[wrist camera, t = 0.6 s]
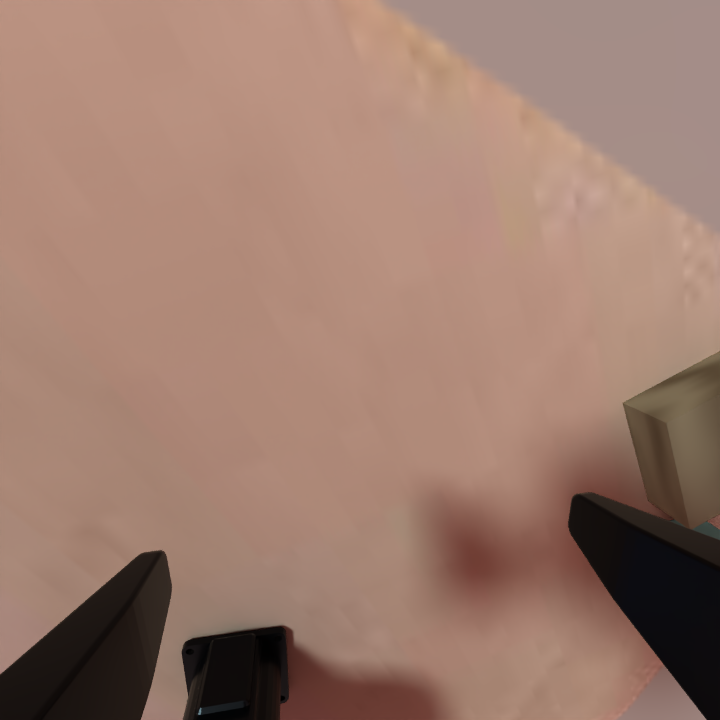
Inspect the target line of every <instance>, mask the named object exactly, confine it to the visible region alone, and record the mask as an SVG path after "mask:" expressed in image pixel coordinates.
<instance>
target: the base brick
mask: <svg viewBox="0 0 720 720" xmlns="http://www.w3.org/2000/svg"><path fill="white" fill-rule="evenodd" d="M623 406H624V410H625V414H626V418H627V422H628V425H629V429H630V433H631V437H632V441H633V445H634V448H635V452H636V456H637V460H638V464H639V467H640V471H641V475H642V479H643V483H644V487H645V490H646V494H647V498H648V501H649V502H651V503H652V504H653V505H655V506H656V507H658V508H659V509H661V510H662V511H663V512H665V513H666V514H668V515H669V516H671V517H672V518H673V519H675V520H676V521H678V522H679V523H681V524H682V525H683V526H685V527H686V528H689V529H693V528H695V527H697V526H699V525H701V524H703V523H704V522H706V521H708V520H710V519H712V518H714V517H715V516H717V515H719V514H720V351H719V352H717V353H716V354H714V355H712V356H710V357H708V358H706V359H704V360H702V361H701V362H699V363H697V364H695V365H693V366H691V367H689V368H687V369H685V370H684V371H682V372H680V373H678V374H676V375H674V376H672V377H670V378H669V379H667V380H665V381H663V382H661V383H659V384H657V385H655V386H654V387H652V388H650V389H648V390H646V391H644V392H642V393H640V394H639V395H637V396H635V397H633V398H631V399H629V400H627V401H625V402H624V403H623Z"/></svg>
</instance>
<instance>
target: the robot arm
mask: <svg viewBox="0 0 720 720" xmlns="http://www.w3.org/2000/svg"><path fill="white" fill-rule="evenodd" d="M568 527H569V531H570V533H571V535H572V537H573V539H574V540H575V542H576V543H577V545H578V546H579V548H580V549H581V551H582V552H583V554H584V555H585V557H586V558H587V560H588V562H589V563H590V565H591V566H592V568H593V569H594V571H595V572H596V574H597V575H598V577H599V578H600V580H601V581H602V583H603V584H604V586H605V587H606V589H607V590H608V592H609V593H610V595H611V596H612V598H613V599H614V600H615V602H616V603H617V605H618V606H619V607H620V609H621V610H622V611H623V612H624V614H625V615H626V616H627V618H628V619H629V620H630V621H631V623H632V624H633V625H634V627H635V628H636V629H637V631H638V632H639V633H640V634H641V636H642V637H643V638H644V640H645V641H646V642H647V643H648V645H649V646H650V647H651V649H652V650H653V651H654V652H655V654H656V655H657V656H658V658H659V659H660V660H661V661H662V663H663V664H664V665H665V667H666V668H667V669H668V671H669V672H670V673H671V674H672V676H673V677H674V678H675V680H676V681H677V682H678V683H679V685H680V686H681V687H682V689H683V690H684V691H685V692H686V694H687V695H688V696H689V698H690V699H691V700H692V701H693V703H694V704H695V705H696V706H697V708H698V709H699V710H700V712H701V713H702V714H703V716H704V717H705V718H706V719H707V720H720V540H718V539H716V538H713V537H710V536H708V535H705V534H702V533H700V532H697V531H694V530H692V529H689V528H686V527H684V526H681V525H678V524H676V523H673V522H670V521H668V520H665V519H662V518H660V517H657V516H654V515H651V514H649V513H646V512H643V511H641V510H638V509H635V508H633V507H630V506H627V505H625V504H622V503H619V502H617V501H614V500H611V499H609V498H606V497H603V496H601V495H598V494H595V493H592V492H587V493H579V494H575V495H574V496H573V497H572V500H571V507H570V514H569V521H568ZM171 592H172V583H171V578H170V572H169V567H168V561H167V556H166V554H165V552H164V551H162V550H158V551H151V552H144V553H141V554H140V555H138V556H137V557H136V558H135V559H134V560H132V561H131V562H130V563H129V564H128V565H127V566H125V567H124V568H123V569H122V570H121V571H120V572H118V573H117V574H116V575H115V576H114V577H113V578H111V579H110V580H109V581H108V582H107V583H106V584H105V585H103V586H102V587H101V588H100V589H99V590H98V591H96V592H95V593H94V594H93V595H92V596H91V597H89V598H88V599H87V600H86V601H85V602H84V603H83V604H81V605H80V606H79V607H78V608H77V609H76V610H74V611H73V612H72V613H71V614H70V615H69V616H67V617H66V618H65V619H64V620H63V621H62V622H60V623H59V624H58V625H57V626H56V627H55V628H54V629H52V630H51V631H50V632H49V633H48V634H47V635H45V636H44V637H43V638H42V639H41V640H40V641H38V642H37V643H36V644H35V645H34V646H33V647H31V648H30V649H29V650H28V651H27V652H26V653H25V654H23V655H22V656H21V657H20V658H19V659H18V660H16V661H15V662H14V663H13V664H12V665H11V666H9V667H8V668H7V669H6V670H5V671H4V672H3V673H1V674H0V720H141V717H142V714H143V711H144V708H145V705H146V701H147V698H148V695H149V691H150V688H151V684H152V680H153V676H154V672H155V667H156V663H157V658H158V654H159V649H160V645H161V640H162V635H163V631H164V626H165V622H166V617H167V613H168V608H169V603H170V599H171ZM182 658H183V665H184V671H185V678H186V684H187V691H188V700H187V705H186V709H185V713H184V717H183V720H280V704H281V703H285V702H286V701H287V700H288V698H289V685H288V665H287V646H286V631H285V629H284V628H282V627H276V628H269V629H262V630H255V631H248V632H241V633H234V634H227V635H220V636H213V637H207V638H200V639H193V640H188V641H186V642H185V643H184V645H183V649H182Z"/></svg>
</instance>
